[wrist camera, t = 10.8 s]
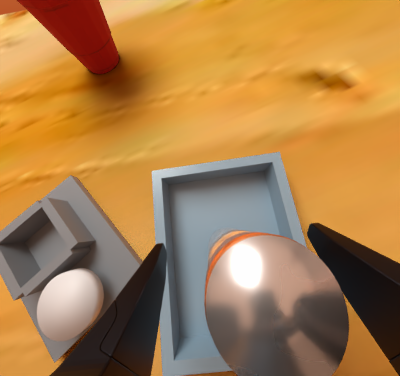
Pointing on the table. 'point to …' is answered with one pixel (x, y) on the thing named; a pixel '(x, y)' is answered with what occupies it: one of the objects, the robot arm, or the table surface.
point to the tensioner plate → (65, 264)
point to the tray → (199, 242)
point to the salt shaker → (273, 306)
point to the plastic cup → (78, 30)
